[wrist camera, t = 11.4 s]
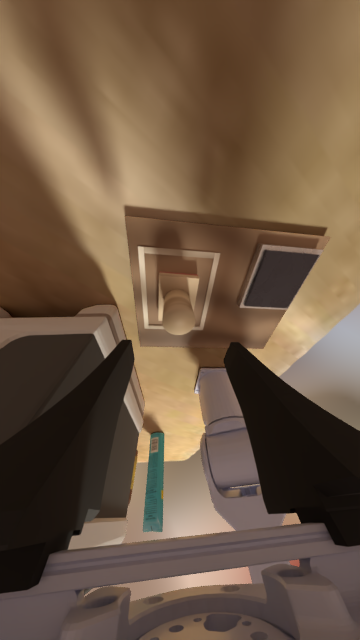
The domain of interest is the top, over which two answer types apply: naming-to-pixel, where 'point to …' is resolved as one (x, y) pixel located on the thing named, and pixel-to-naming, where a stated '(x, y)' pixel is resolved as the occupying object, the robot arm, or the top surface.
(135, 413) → the toaster
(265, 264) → the ink pad
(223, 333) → the board
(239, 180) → the top surface
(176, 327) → the stamp
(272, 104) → the top surface
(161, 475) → the tube
